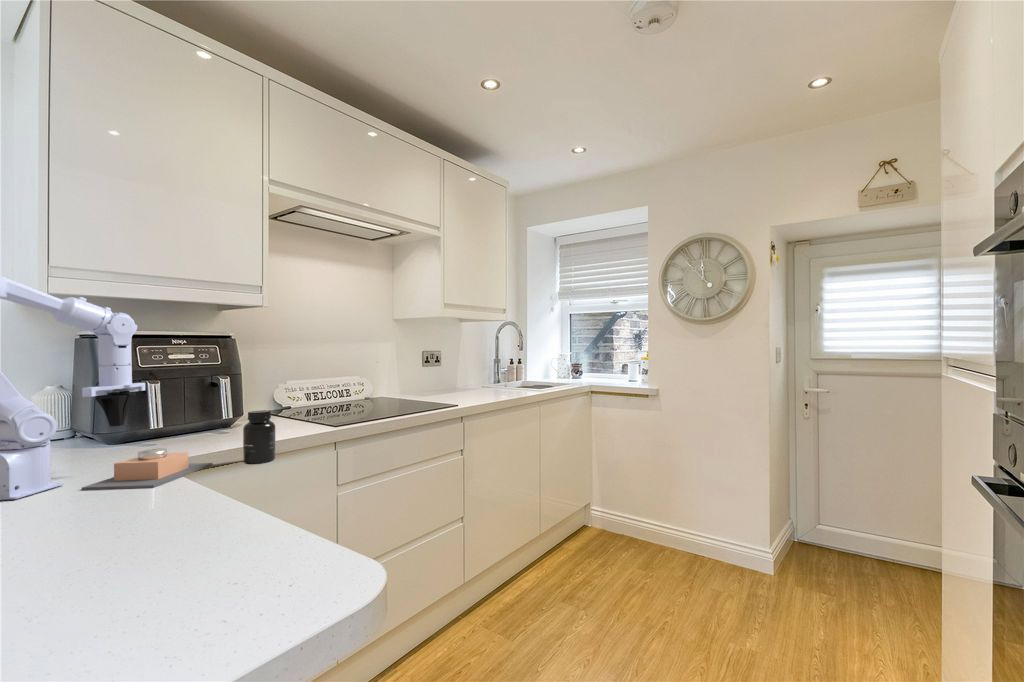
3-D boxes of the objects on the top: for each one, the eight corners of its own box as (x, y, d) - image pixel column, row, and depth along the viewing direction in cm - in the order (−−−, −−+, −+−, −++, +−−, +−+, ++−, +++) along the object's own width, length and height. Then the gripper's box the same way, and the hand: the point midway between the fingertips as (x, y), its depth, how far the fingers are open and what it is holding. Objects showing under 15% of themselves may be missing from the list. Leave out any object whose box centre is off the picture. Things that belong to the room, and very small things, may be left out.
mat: (153, 487, 90) (153, 485, 90) (81, 490, 90) (81, 487, 90) (212, 464, 108) (212, 462, 108) (152, 466, 108) (152, 464, 108)
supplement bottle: (239, 466, 106) (238, 414, 106) (247, 459, 113) (247, 410, 113) (272, 463, 108) (271, 412, 108) (278, 457, 115) (277, 408, 115)
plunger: (155, 475, 97) (155, 452, 97) (131, 476, 97) (131, 453, 97) (173, 469, 102) (172, 447, 102) (150, 469, 102) (150, 448, 102)
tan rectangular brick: (158, 479, 95) (158, 462, 95) (114, 480, 95) (113, 463, 95) (188, 468, 104) (188, 452, 104) (148, 469, 104) (148, 453, 104)
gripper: (105, 366, 97) (106, 430, 97) (157, 364, 112) (158, 420, 112) (71, 367, 97) (72, 432, 97) (128, 365, 112) (129, 421, 112)
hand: (116, 425), depth 104 cm, fingers closed
